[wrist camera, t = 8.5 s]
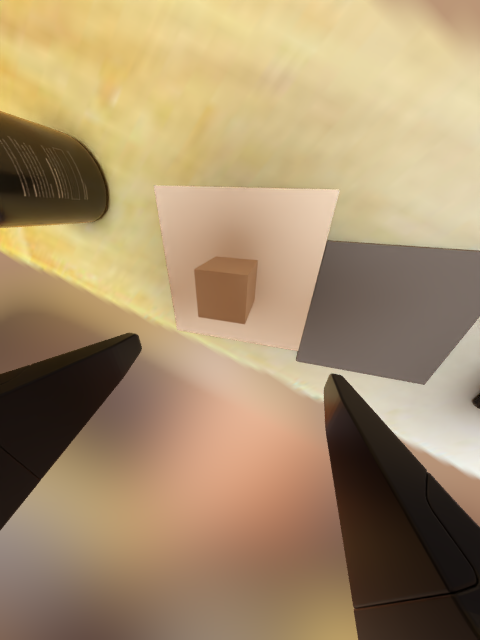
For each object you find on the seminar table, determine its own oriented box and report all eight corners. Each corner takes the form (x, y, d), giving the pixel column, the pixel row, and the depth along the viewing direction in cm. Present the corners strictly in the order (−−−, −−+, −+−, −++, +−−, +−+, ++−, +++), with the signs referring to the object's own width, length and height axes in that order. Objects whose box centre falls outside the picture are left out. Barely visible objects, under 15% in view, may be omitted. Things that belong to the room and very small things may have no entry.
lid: (336, 191, 11) (361, 179, 7) (297, 343, 16) (299, 383, 12) (162, 186, 12) (107, 175, 9) (182, 324, 18) (154, 354, 14)
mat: (521, 253, 13) (529, 255, 13) (421, 380, 20) (424, 384, 19) (326, 240, 15) (327, 241, 15) (296, 358, 22) (296, 361, 21)
